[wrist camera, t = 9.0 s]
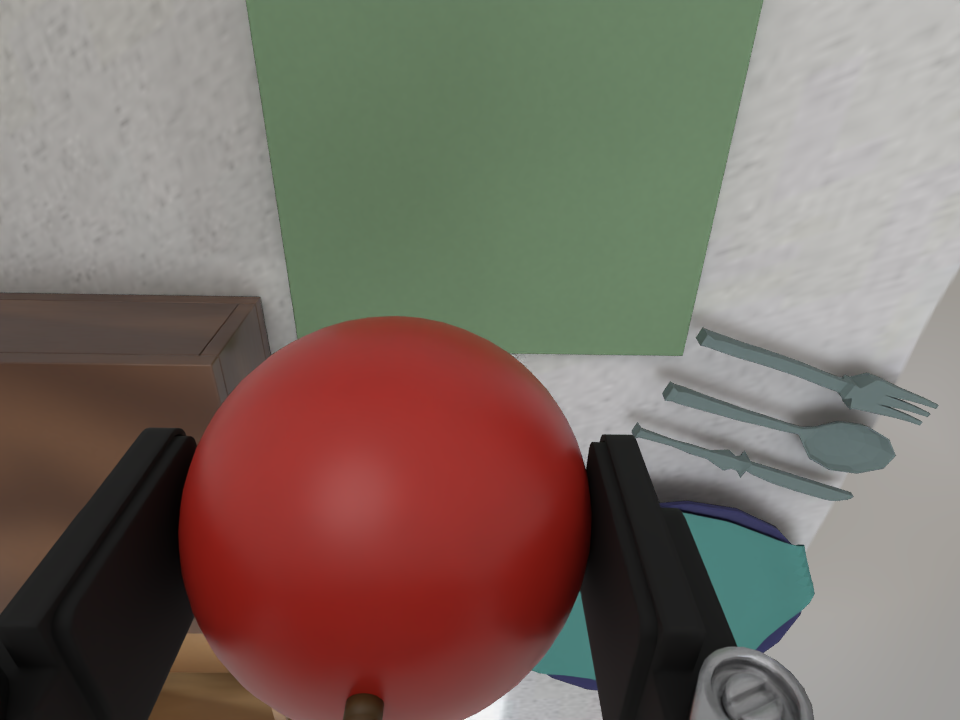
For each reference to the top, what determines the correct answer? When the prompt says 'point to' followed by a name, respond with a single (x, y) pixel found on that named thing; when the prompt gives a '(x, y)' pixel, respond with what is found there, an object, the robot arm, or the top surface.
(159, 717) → the drawer
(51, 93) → the top surface
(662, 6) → the mat
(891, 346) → the top surface
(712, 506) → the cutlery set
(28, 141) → the top surface
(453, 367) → the apple
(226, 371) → the cabinet
